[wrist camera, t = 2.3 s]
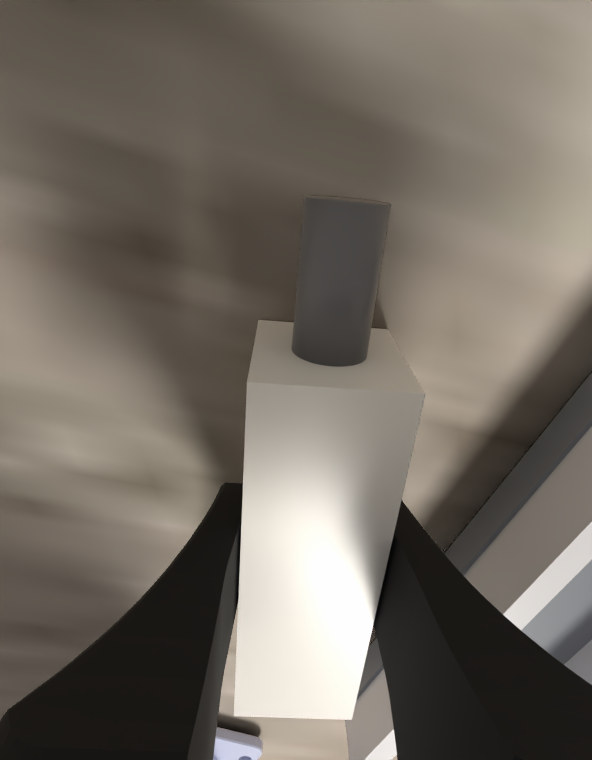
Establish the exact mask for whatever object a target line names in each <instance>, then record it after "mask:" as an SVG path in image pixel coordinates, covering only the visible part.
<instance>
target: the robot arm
mask: <svg viewBox="0 0 592 760" xmlns="http://www.w3.org/2000/svg"><path fill="white" fill-rule="evenodd" d="M242 496H243V484H237V483H225V484H223V485H222V486H221V488H220V490H219V492H218V494H217V496H216V498H215V500H214V502H213V504H212V506H211V507H210V509H209V511H208V512H207V514H206V516H205V517H204V519H203V520H202V522H201V523H200V525H199V526H198V528H197V529H196V531H195V532H194V534H193V535H192V537H191V538H190V540H189V541H188V542H187V544H186V545H185V546H184V548H183V549H182V550H181V552H180V553H179V554H178V555H177V557H176V558H175V559H174V561H173V562H172V563H171V564H170V566H169V567H168V568H167V569H166V571H165V572H164V573H163V574H162V575H161V577H160V578H159V579H158V580H157V581H156V582H155V583H154V585H153V586H152V587H151V588H150V589H149V590H148V591H147V592H146V593H145V594H144V595H143V596H142V598H141V599H140V600H139V601H138V602H137V603H136V604H135V605H134V606H133V607H132V608H131V609H130V610H129V611H128V612H127V613H126V614H125V615H124V616H123V617H122V618H121V619H120V620H119V621H117V622H116V623H115V624H114V625H113V626H112V627H111V628H110V629H109V630H108V631H107V632H106V633H105V634H103V635H102V636H101V637H100V638H99V639H98V640H96V641H95V642H94V643H93V644H92V645H91V646H89V647H88V648H87V649H86V650H85V651H84V652H82V653H81V654H80V655H79V656H78V657H76V658H75V659H74V660H73V661H72V662H71V663H69V664H68V665H67V666H66V667H64V668H63V669H62V670H61V671H59V672H58V673H57V674H55V675H54V676H53V677H51V678H50V679H49V680H47V681H46V682H45V683H43V684H42V685H41V686H39V687H38V688H37V689H35V690H34V691H33V692H31V693H30V694H29V695H27V696H26V697H25V698H23V699H22V700H21V701H19V702H18V703H17V704H15V705H14V706H12V707H11V708H10V709H8V710H7V712H6V713H5V715H4V716H3V717H2V719H1V720H0V760H258V759H259V757H260V756H261V755H262V752H263V742H262V740H261V739H260V738H258V737H256V736H252V735H248V734H244V733H240V732H236V731H232V730H228V729H224V728H220V727H217V720H218V712H219V703H220V695H221V687H222V681H223V675H224V668H225V664H226V659H227V654H228V649H229V644H230V639H231V634H232V629H233V624H234V619H235V614H236V609H237V604H238V599H239V573H240V548H241V522H242ZM374 628H375V632H376V637H377V641H378V645H379V650H380V654H381V658H382V663H383V667H384V671H385V676H386V681H387V687H388V692H389V698H390V705H391V712H392V720H393V727H394V735H395V742H396V750H397V758H398V760H592V685H591V684H590V683H588V682H587V681H585V680H584V679H583V678H581V677H580V676H579V675H577V674H576V673H574V672H573V671H572V670H570V669H569V668H567V667H566V666H565V665H564V664H562V663H561V662H560V661H558V660H557V659H556V658H554V657H553V656H552V655H550V654H549V653H548V652H547V651H545V650H544V649H543V648H542V647H541V646H539V645H538V644H537V643H536V642H534V641H533V640H532V639H531V638H530V637H528V636H527V635H526V634H525V633H523V632H522V631H521V630H520V629H519V628H518V627H516V626H515V625H514V624H513V623H512V622H511V621H510V620H508V619H507V618H506V617H505V616H504V615H503V614H502V613H501V612H500V611H499V610H498V609H497V608H495V607H494V606H493V605H492V604H491V603H490V602H489V601H488V600H487V599H486V598H485V597H484V596H483V595H482V594H481V593H480V592H479V591H478V590H477V589H476V588H475V587H474V586H473V585H472V584H471V583H470V582H469V581H468V580H467V579H466V578H465V577H464V576H463V575H462V573H461V572H460V571H459V570H458V569H457V568H456V567H455V566H454V565H453V564H452V562H451V561H450V560H449V559H448V558H447V557H446V555H445V554H444V553H443V552H442V551H441V549H440V548H439V547H438V546H437V545H436V544H435V542H434V541H433V540H432V539H431V537H430V536H429V535H428V534H427V532H426V531H425V530H424V529H423V527H422V526H421V525H420V524H419V522H418V521H417V520H416V518H415V517H414V516H413V514H412V513H411V512H410V511H409V509H408V508H407V507H406V505H405V504H404V503H403V501H402V500H401V504H400V509H399V513H398V518H397V522H396V527H395V531H394V535H393V540H392V544H391V549H390V553H389V558H388V562H387V566H386V571H385V575H384V580H383V584H382V589H381V593H380V597H379V602H378V606H377V611H376V615H375V620H374Z"/></svg>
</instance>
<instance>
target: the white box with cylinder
mask: <svg viewBox="0 0 592 760" xmlns="http://www.w3.org/2000/svg"><path fill="white" fill-rule="evenodd" d="M390 207H391V204H389V203H385V202H379V201H373V200H366V199H357V198H347V197H335V196H313V195H312V196H304V203H303V215H302V228H301V240H300V252H299V264H298V276H297V289H296V301H295V313H294V322H281V321H267V320H258V325H257V331H256V336H255V341H254V347H253V352H252V358H251V363H250V368H249V374H248V379H247V393H246V419H245V445H244V470H243V496H242V522H241V548H240V573H239V599H238V625H237V651H236V677H235V702H234V716H248V717H280V718H312V719H344V720H352V717H353V713H354V708H355V704H356V699H357V695H358V690H359V686H360V682H361V677H362V673H363V668H364V664H365V659H366V655H367V651H368V646H369V642H370V637H371V633H372V628H373V624H374V620H375V615H376V611H377V606H378V602H379V597H380V593H381V589H382V584H383V580H384V575H385V571H386V566H387V562H388V558H389V553H390V549H391V544H392V540H393V535H394V531H395V527H396V522H397V518H398V513H399V509H400V504H401V500H402V496H403V491H404V487H405V482H406V478H407V473H408V469H409V465H410V460H411V456H412V451H413V447H414V442H415V438H416V434H417V429H418V425H419V420H420V416H421V411H422V407H423V403H424V398H425V392H424V390H423V389H422V387H421V385H420V384H419V382H418V380H417V379H416V377H415V375H414V373H413V372H412V370H411V368H410V367H409V365H408V363H407V361H406V360H405V358H404V356H403V355H402V353H401V351H400V349H399V348H398V346H397V344H396V343H395V341H394V339H393V337H392V336H391V334H390V332H389V331H388V329H378V328H371V327H372V321H373V315H374V308H375V302H376V296H377V289H378V283H379V277H380V271H381V264H382V258H383V252H384V245H385V239H386V233H387V226H388V220H389V214H390Z"/></svg>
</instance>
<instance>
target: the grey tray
mask: <svg viewBox="0 0 592 760" xmlns="http://www.w3.org/2000/svg"><path fill="white" fill-rule="evenodd" d="M445 555H446V557H447V558H448V559H449V560H450V561H451V562H452V564H453V565H454V566H455V567H456V568H457V569H458V570H459V571H460V572H461V573H462V575H463V576H464V577H465V578H466V579H467V580H468V581H469V582H470V583H471V584H472V585H473V586H474V587H475V588H476V589H477V590H478V591H479V592H480V593H481V594H482V595H483V596H484V597H485V598H486V599H487V600H488V601H489V602H490V603H491V604H492V605H493V606H494V607H495V608H497V609H498V610H499V611H500V612H501V613H502V614H503V615H504V616H505V617H506V618H507V619H508V620H510V621H511V622H512V623H513V624H514V625H515V626H516V627H518V628H519V629H520V630H521V631H522V632H523V633H525V634H526V635H527V636H528V637H530V638H531V639H532V640H533V641H534V642H536V643H537V644H538V645H539V646H541V647H542V648H543V649H544V650H545V651H547V652H548V653H549V654H550V655H552V656H553V657H554V658H556V659H557V660H558V661H560V662H561V663H562V664H564V665H565V666H566V667H567V668H569V669H570V670H572V671H573V672H574V673H576V674H577V675H579V676H580V677H581V678H583V679H584V680H585V681H587V682H588V683H590V684H591V685H592V372H591V374H590V375H589V376H588V377H587V379H586V380H585V381H584V382H583V383H582V385H581V386H580V387H579V388H578V390H577V391H576V392H575V393H574V395H573V396H572V397H571V398H570V400H569V401H568V402H567V403H566V404H565V406H564V407H563V408H562V409H561V411H560V412H559V413H558V414H557V416H556V417H555V418H554V419H553V420H552V422H551V423H550V424H549V425H548V427H547V428H546V429H545V430H544V432H543V433H542V434H541V435H540V436H539V438H538V439H537V440H536V441H535V443H534V444H533V445H532V446H531V448H530V449H529V450H528V451H527V453H526V454H525V455H524V456H523V457H522V459H521V460H520V461H519V462H518V464H517V465H516V466H515V467H514V469H513V470H512V471H511V472H510V473H509V475H508V476H507V477H506V478H505V480H504V481H503V482H502V483H501V485H500V486H499V487H498V488H497V489H496V491H495V492H494V493H493V494H492V496H491V497H490V498H489V499H488V501H487V502H486V503H485V504H484V506H483V507H482V508H481V509H480V510H479V512H478V513H477V514H476V515H475V517H474V518H473V519H472V520H471V522H470V523H469V524H468V525H467V526H466V528H465V529H464V530H463V531H462V533H461V534H460V535H459V536H458V538H457V539H456V540H455V541H454V542H453V544H452V545H451V546H450V547H449V549H448V550H447V551H446V552H445ZM345 722H346V732H347V742H348V752H349V760H392V759H393V758H394V757H395V756H396V755H397V750H396V742H395V735H394V727H393V720H392V712H391V705H390V698H389V692H388V687H387V681H386V676H385V671H384V667H383V663H382V658H381V654H380V650H379V645H378V641H377V637H376V639H375V640H374V641H373V642H372V644H371V645H370V646H369V647H368V651H367V655H366V659H365V664H364V668H363V673H362V677H361V682H360V686H359V690H358V695H357V699H356V704H355V708H354V713H353V717H352V720H345Z"/></svg>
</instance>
